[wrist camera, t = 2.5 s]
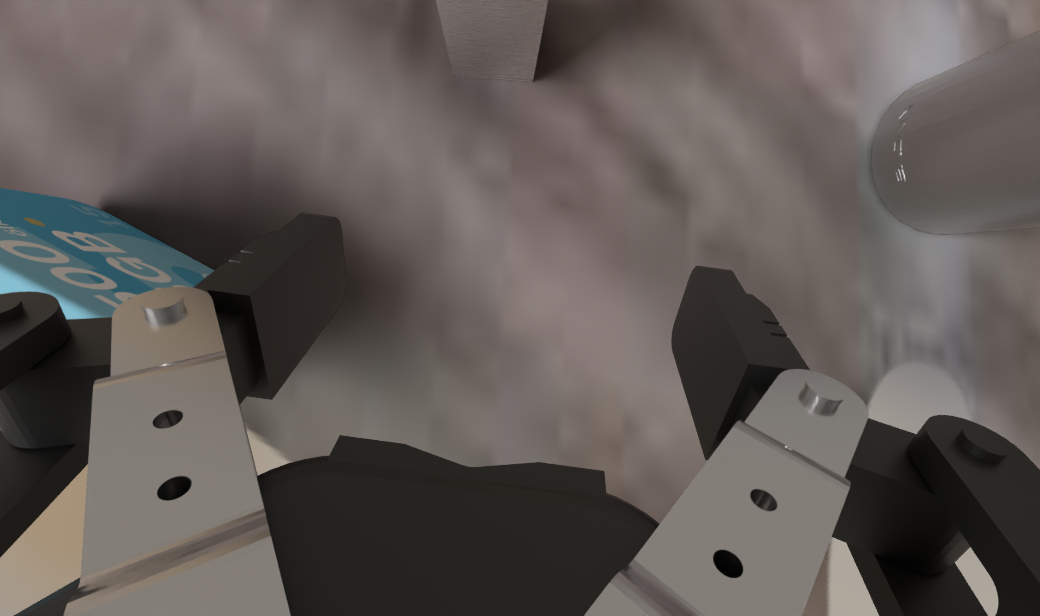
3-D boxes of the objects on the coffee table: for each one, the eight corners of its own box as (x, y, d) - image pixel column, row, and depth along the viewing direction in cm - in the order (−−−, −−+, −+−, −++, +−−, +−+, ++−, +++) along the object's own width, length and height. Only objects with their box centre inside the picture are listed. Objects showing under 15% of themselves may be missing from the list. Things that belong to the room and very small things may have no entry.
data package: (281, 305, 29) (129, 331, 17) (245, 372, 29) (68, 445, 17) (87, 200, 28) (-220, 149, 16) (51, 270, 28) (-278, 272, 16)
